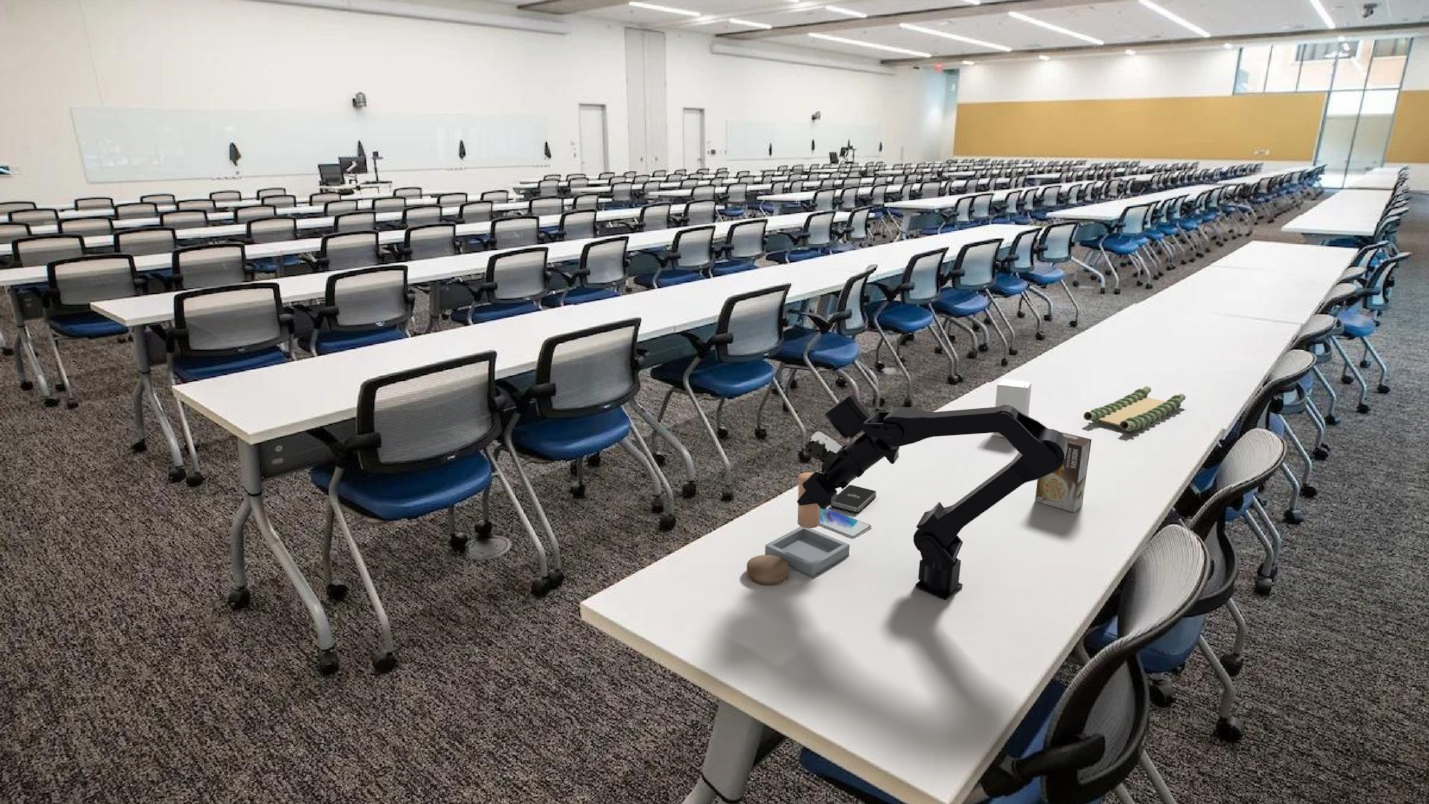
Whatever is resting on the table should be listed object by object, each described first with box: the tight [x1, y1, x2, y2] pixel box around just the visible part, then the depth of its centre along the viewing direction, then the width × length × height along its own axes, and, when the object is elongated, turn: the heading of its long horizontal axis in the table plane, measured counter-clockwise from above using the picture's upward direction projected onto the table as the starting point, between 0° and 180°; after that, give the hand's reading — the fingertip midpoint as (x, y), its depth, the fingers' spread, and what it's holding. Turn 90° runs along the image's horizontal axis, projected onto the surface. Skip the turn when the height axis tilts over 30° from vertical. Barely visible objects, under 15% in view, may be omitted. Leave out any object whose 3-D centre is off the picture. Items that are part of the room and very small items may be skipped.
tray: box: [764, 526, 851, 579], centre depth 159 cm, size 12×12×2 cm
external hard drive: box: [829, 484, 877, 515], centre depth 183 cm, size 7×11×2 cm, turn 146°
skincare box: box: [992, 378, 1032, 439], centre depth 222 cm, size 8×7×16 cm
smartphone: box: [818, 507, 872, 539], centre depth 174 cm, size 7×1×15 cm
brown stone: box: [746, 554, 789, 586], centre depth 153 cm, size 8×8×2 cm
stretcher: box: [1083, 385, 1186, 432], centre depth 238 cm, size 41×14×5 cm, turn 130°
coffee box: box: [1034, 431, 1093, 513], centre depth 180 cm, size 9×6×16 cm
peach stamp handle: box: [797, 471, 820, 529], centre depth 156 cm, size 4×4×10 cm
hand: (802, 498), depth 156 cm, fingers closed on peach stamp handle, 4 cm apart
